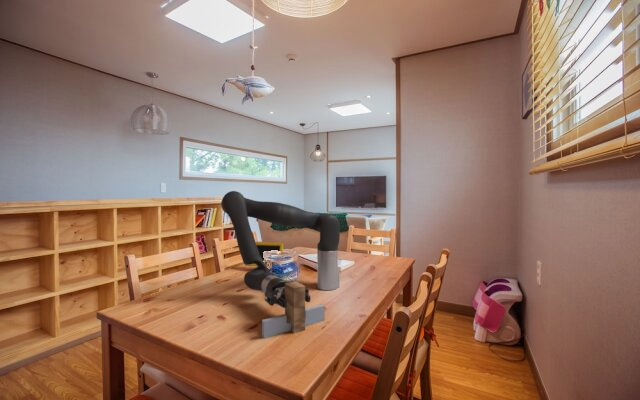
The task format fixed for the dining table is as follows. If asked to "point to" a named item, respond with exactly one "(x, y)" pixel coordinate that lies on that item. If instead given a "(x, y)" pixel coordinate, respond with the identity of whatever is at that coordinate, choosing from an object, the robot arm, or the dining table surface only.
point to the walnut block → (295, 305)
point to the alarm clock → (267, 248)
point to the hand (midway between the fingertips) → (297, 301)
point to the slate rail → (282, 325)
